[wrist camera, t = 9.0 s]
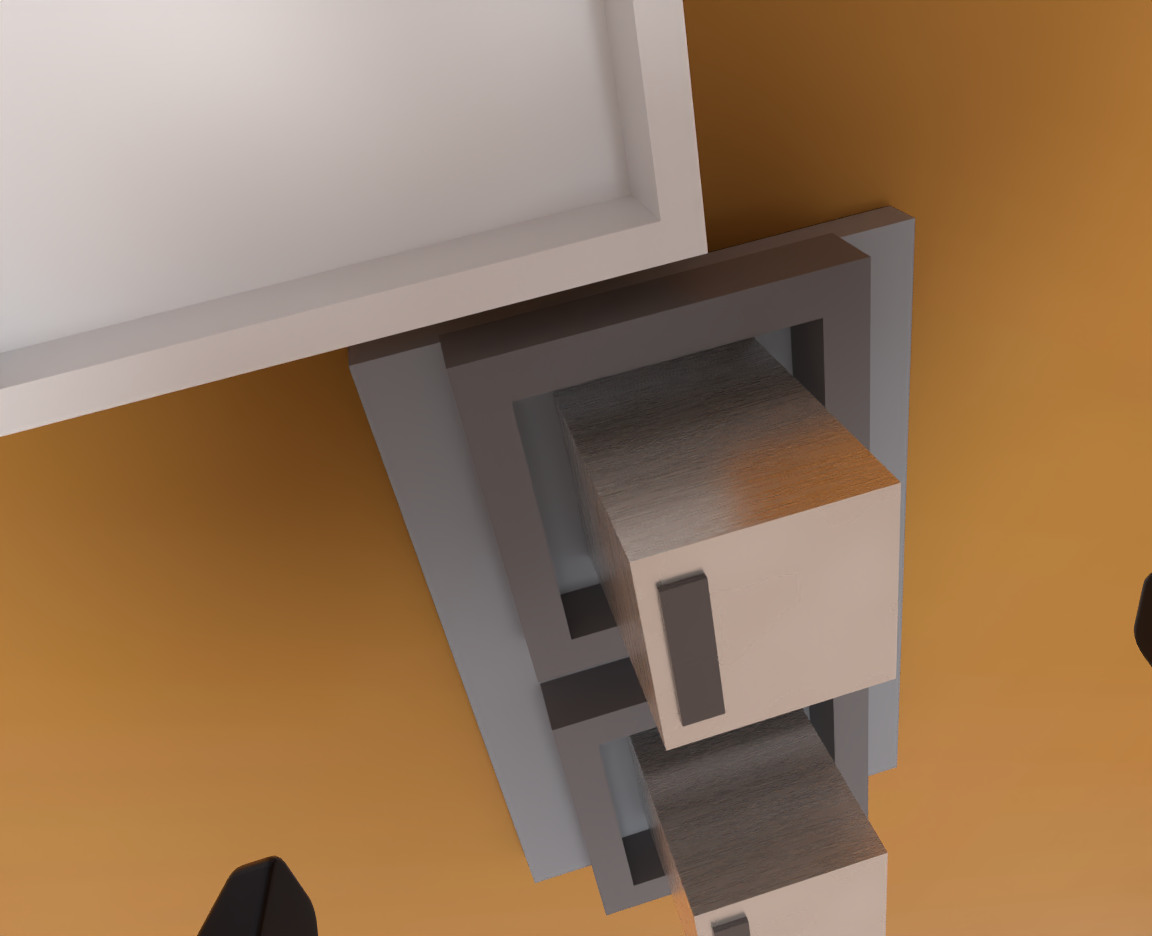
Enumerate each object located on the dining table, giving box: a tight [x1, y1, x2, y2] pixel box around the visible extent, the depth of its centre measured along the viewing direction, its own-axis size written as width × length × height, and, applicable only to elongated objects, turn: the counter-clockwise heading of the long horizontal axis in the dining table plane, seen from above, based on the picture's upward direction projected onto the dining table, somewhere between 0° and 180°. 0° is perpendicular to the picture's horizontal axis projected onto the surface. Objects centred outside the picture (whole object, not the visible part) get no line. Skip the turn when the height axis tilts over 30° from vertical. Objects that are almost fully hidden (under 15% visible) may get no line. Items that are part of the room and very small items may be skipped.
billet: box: [627, 708, 888, 936], centre depth 23 cm, size 4×4×6 cm
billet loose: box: [553, 337, 901, 751], centre depth 17 cm, size 4×4×6 cm
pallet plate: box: [348, 206, 915, 915], centre depth 22 cm, size 12×18×3 cm, turn 11°
